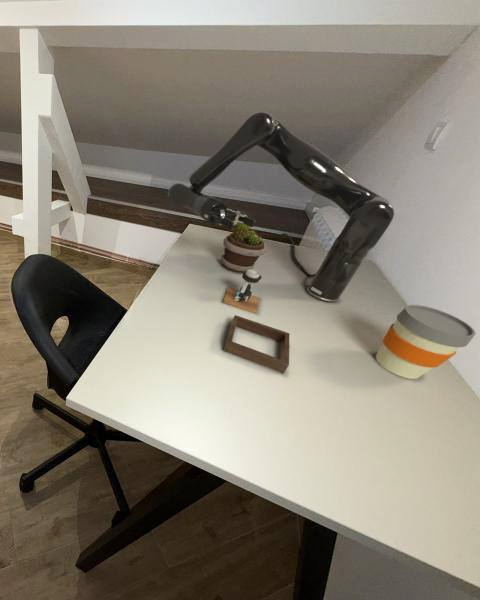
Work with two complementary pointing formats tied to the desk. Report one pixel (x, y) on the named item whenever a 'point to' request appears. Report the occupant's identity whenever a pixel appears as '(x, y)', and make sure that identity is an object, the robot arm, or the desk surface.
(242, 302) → the cork mat
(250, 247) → the flowerpot
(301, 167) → the robot arm
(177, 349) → the desk surface
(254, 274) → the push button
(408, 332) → the reusable coffee cup
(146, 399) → the desk surface
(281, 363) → the walnut frame
